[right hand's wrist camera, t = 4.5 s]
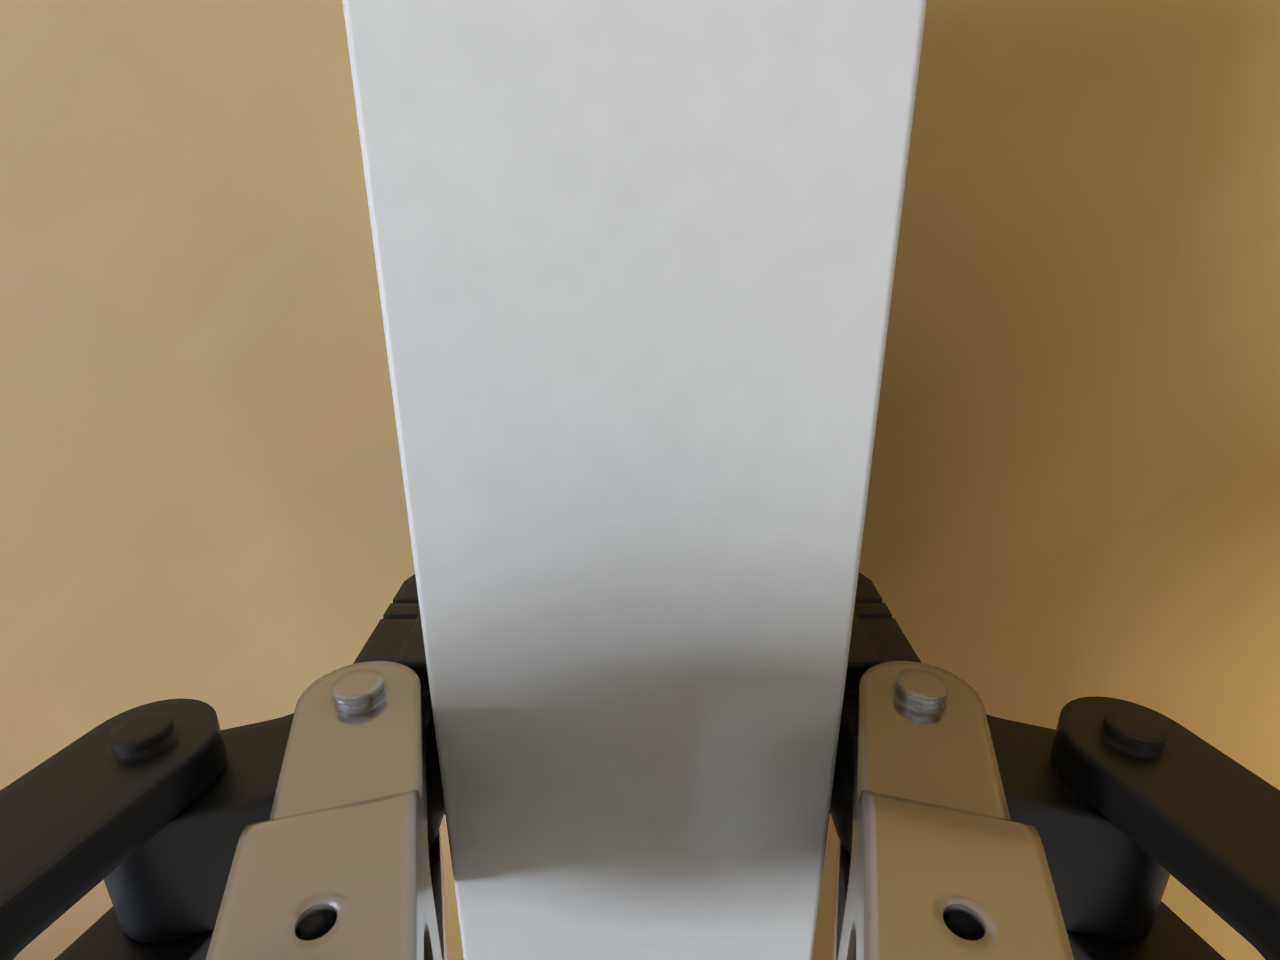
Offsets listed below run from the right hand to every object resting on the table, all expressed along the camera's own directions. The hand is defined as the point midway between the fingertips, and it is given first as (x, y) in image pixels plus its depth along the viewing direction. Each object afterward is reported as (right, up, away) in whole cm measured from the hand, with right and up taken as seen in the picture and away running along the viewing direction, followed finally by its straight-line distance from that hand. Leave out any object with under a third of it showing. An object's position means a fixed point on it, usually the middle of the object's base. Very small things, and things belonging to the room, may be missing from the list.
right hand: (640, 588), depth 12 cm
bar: (0, -19, +9) cm, 21 cm away
